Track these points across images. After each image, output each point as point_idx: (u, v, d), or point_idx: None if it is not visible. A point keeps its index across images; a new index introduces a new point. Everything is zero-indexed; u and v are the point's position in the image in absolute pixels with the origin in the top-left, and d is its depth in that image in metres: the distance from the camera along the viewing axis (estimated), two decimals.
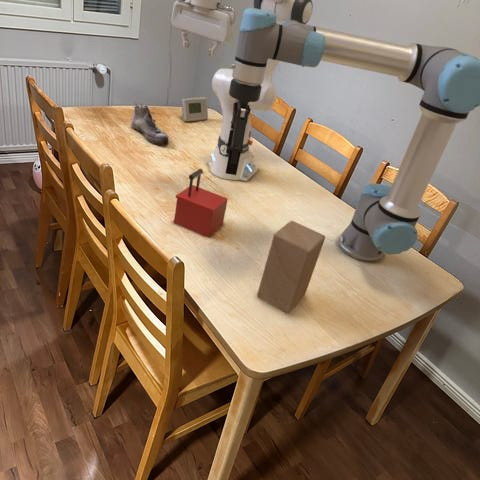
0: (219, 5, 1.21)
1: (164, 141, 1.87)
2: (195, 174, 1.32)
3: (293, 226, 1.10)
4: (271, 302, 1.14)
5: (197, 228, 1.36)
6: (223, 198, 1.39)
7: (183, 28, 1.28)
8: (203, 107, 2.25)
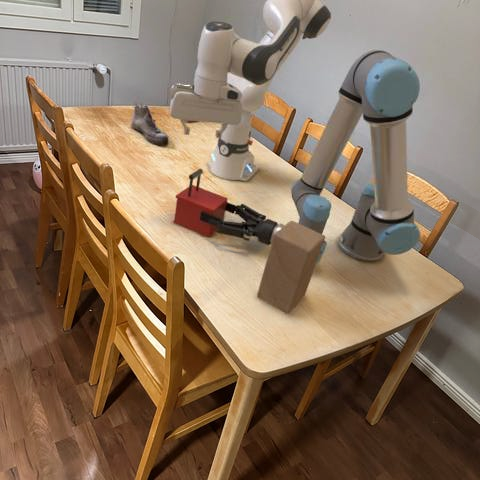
0: None
1: (164, 141, 1.87)
2: (195, 174, 1.32)
3: (293, 226, 1.10)
4: (271, 302, 1.14)
5: (197, 228, 1.36)
6: (223, 198, 1.39)
7: None
8: None
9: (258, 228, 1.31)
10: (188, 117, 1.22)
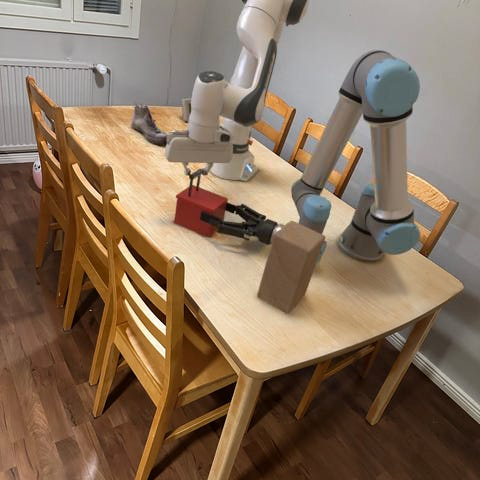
0: None
1: (164, 141, 1.87)
2: (195, 174, 1.32)
3: (293, 226, 1.10)
4: (271, 302, 1.14)
5: (197, 228, 1.36)
6: (223, 198, 1.39)
7: None
8: None
9: (258, 228, 1.31)
10: (184, 160, 1.28)
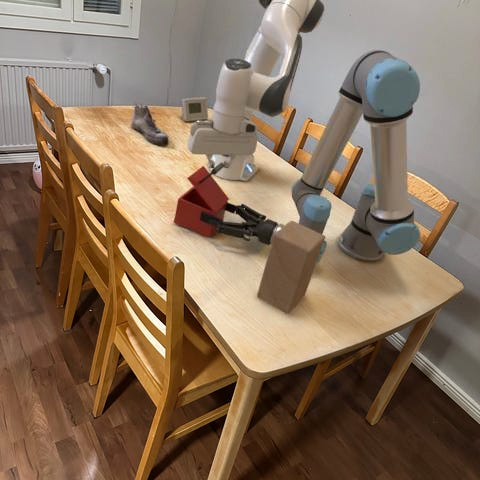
0: None
1: (164, 141, 1.87)
2: (218, 170, 1.28)
3: (293, 226, 1.10)
4: (271, 302, 1.14)
5: (198, 228, 1.36)
6: (226, 197, 1.38)
7: None
8: (203, 107, 2.25)
9: (258, 228, 1.31)
10: (208, 151, 1.23)
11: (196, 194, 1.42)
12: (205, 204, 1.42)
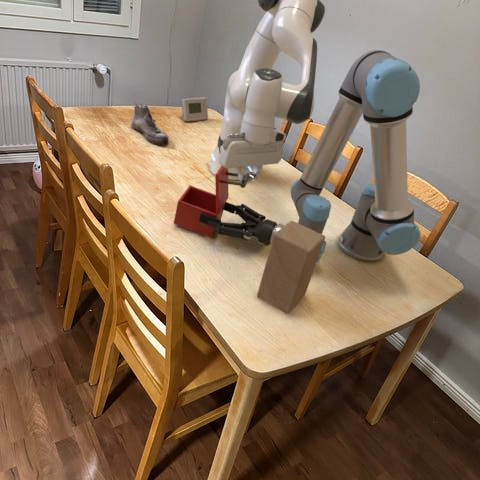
0: None
1: (164, 141, 1.87)
2: (246, 184, 1.26)
3: (293, 226, 1.10)
4: (271, 302, 1.14)
5: (199, 229, 1.36)
6: (227, 196, 1.37)
7: None
8: (203, 107, 2.25)
9: (257, 228, 1.31)
10: (240, 164, 1.20)
11: (193, 193, 1.40)
12: (203, 202, 1.41)
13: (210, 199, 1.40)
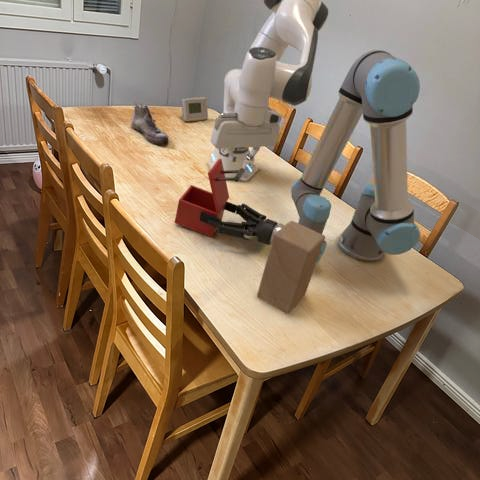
0: None
1: (164, 141, 1.87)
2: (240, 178, 1.27)
3: (293, 226, 1.10)
4: (271, 302, 1.14)
5: (200, 228, 1.36)
6: (227, 195, 1.38)
7: None
8: (203, 107, 2.25)
9: (258, 228, 1.31)
10: (232, 145, 1.19)
11: (195, 192, 1.41)
12: (204, 202, 1.42)
13: (211, 199, 1.40)
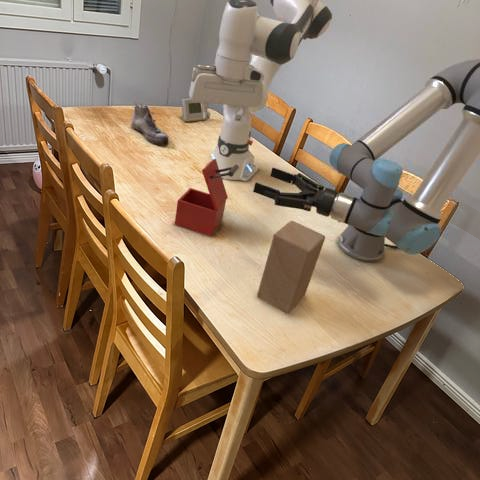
0: None
1: (164, 141, 1.87)
2: (234, 173, 1.28)
3: (293, 226, 1.10)
4: (271, 302, 1.14)
5: (199, 228, 1.37)
6: (226, 195, 1.39)
7: None
8: None
9: (317, 197, 1.19)
10: (210, 100, 1.16)
11: (194, 195, 1.42)
12: (204, 204, 1.43)
13: (210, 200, 1.42)
